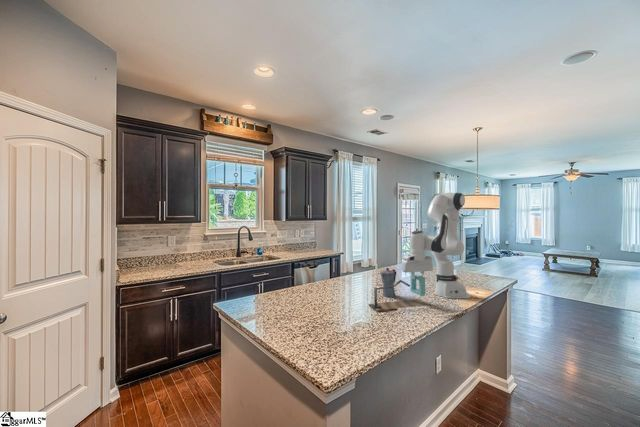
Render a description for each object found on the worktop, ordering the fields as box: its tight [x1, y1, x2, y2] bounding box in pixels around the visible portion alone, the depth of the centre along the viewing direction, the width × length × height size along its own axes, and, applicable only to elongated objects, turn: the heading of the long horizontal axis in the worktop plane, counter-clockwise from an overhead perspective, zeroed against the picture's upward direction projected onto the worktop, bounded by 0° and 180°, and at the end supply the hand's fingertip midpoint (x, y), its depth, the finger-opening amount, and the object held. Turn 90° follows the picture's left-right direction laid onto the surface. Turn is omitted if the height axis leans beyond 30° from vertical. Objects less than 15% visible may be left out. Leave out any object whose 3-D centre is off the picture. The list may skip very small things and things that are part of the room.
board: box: [368, 298, 431, 313], centre depth 172 cm, size 36×12×1 cm, turn 104°
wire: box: [369, 279, 411, 309], centre depth 171 cm, size 26×5×15 cm, turn 104°
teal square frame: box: [410, 273, 426, 297], centre depth 175 cm, size 3×11×11 cm, turn 14°
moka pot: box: [380, 267, 397, 298], centre depth 192 cm, size 10×15×20 cm, turn 132°
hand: (417, 278), depth 175 cm, fingers closed on teal square frame, 3 cm apart
